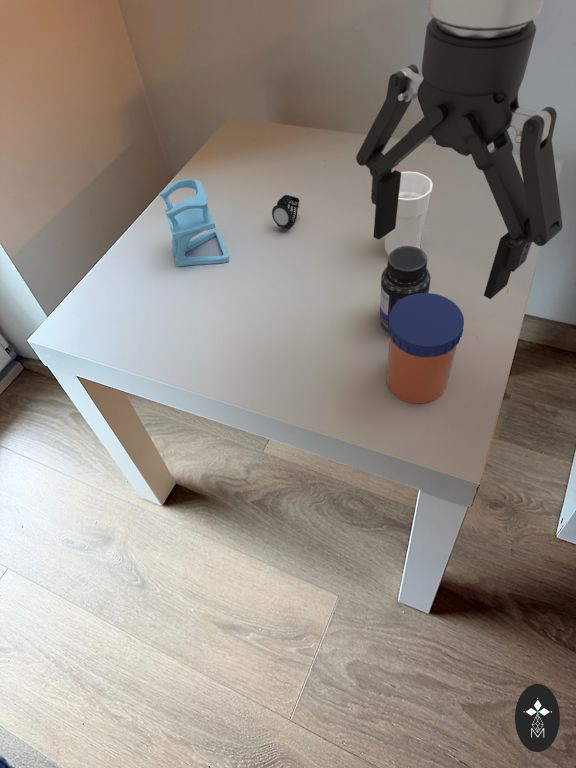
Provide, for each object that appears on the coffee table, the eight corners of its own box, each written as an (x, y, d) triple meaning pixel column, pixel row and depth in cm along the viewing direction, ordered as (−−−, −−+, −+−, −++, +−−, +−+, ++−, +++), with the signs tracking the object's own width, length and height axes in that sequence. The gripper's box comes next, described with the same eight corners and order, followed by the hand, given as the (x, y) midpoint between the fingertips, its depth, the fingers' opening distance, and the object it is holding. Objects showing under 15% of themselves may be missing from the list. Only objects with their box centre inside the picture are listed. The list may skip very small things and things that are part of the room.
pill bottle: (431, 313, 74) (442, 250, 65) (412, 343, 71) (421, 281, 62) (390, 298, 76) (395, 236, 68) (370, 327, 74) (373, 265, 65)
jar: (459, 375, 68) (475, 317, 59) (424, 414, 65) (435, 359, 56) (409, 346, 71) (417, 287, 63) (373, 382, 68) (376, 325, 60)
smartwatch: (270, 226, 89) (266, 200, 85) (295, 213, 90) (292, 186, 86) (285, 238, 87) (282, 211, 83) (310, 224, 88) (308, 197, 84)
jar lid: (475, 325, 60) (479, 313, 59) (434, 369, 57) (436, 358, 56) (415, 294, 64) (417, 282, 62) (373, 334, 61) (374, 323, 59)
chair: (170, 246, 88) (148, 181, 79) (218, 232, 89) (202, 166, 79) (178, 276, 84) (156, 211, 74) (230, 261, 85) (214, 195, 75)
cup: (424, 235, 84) (432, 171, 75) (424, 264, 80) (433, 200, 71) (381, 234, 85) (384, 171, 76) (379, 262, 81) (382, 199, 72)
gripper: (691, 41, 33) (571, 297, 50) (380, -26, 45) (367, 198, 62) (634, 83, 30) (527, 341, 47) (318, -1, 42) (322, 227, 59)
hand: (436, 260), depth 54 cm, fingers open, 13 cm apart
